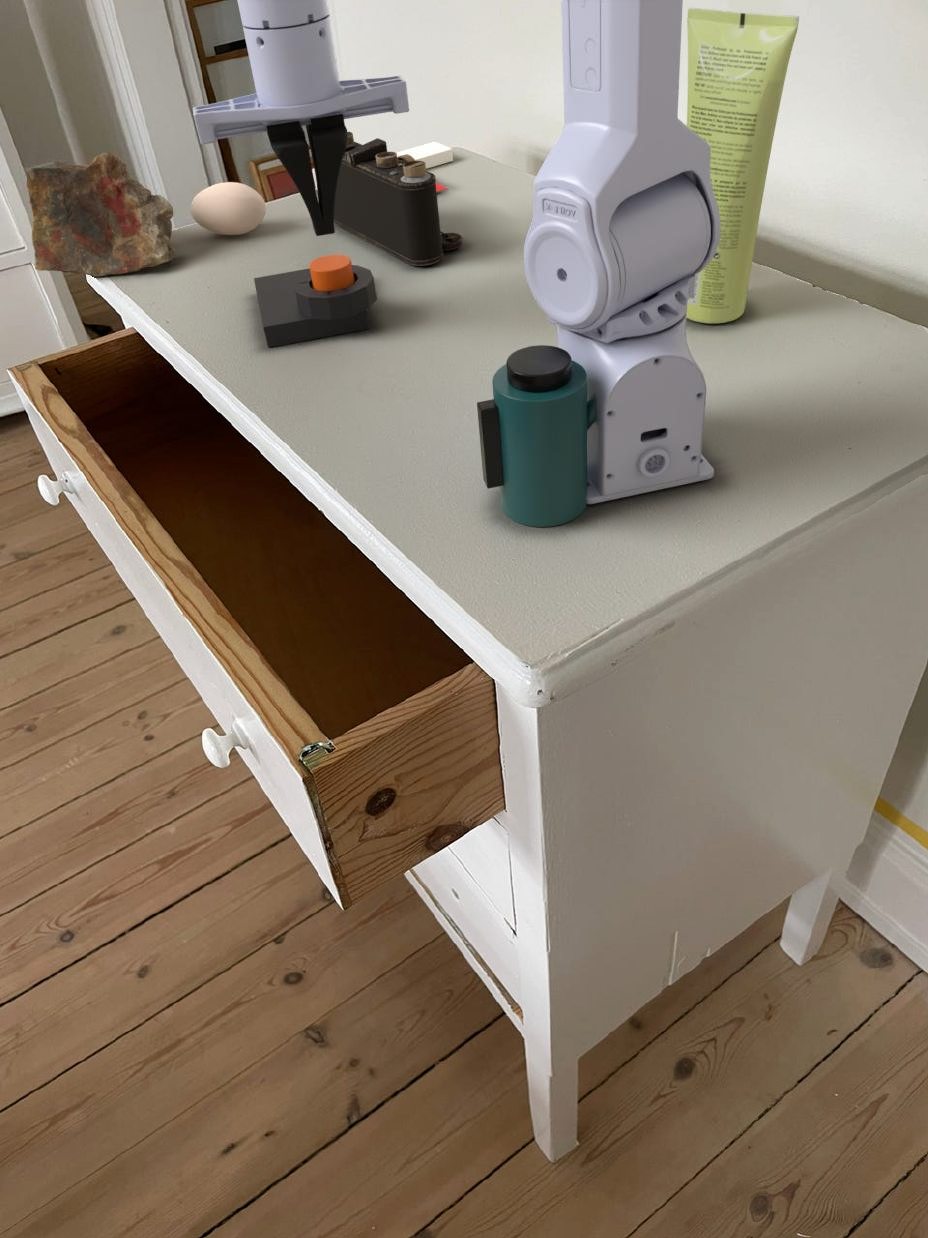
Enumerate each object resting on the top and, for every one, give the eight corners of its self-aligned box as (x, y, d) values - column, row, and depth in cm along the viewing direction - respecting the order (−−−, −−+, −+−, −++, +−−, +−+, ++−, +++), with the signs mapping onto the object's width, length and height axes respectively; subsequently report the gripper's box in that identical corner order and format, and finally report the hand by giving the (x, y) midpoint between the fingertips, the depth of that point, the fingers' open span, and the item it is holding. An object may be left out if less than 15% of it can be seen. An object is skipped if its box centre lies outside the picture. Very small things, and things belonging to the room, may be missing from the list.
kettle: (626, 510, 55) (631, 365, 49) (499, 538, 54) (487, 394, 48) (597, 465, 59) (598, 325, 53) (477, 490, 58) (464, 350, 52)
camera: (477, 248, 86) (470, 152, 80) (413, 270, 83) (401, 172, 78) (383, 203, 96) (371, 116, 91) (324, 222, 94) (308, 133, 89)
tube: (744, 293, 75) (777, -3, 62) (761, 322, 71) (800, 13, 58) (670, 300, 75) (687, 6, 62) (683, 329, 71) (705, 23, 58)
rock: (109, 179, 96) (38, 118, 86) (215, 193, 92) (152, 131, 82) (73, 298, 95) (-3, 250, 86) (178, 318, 91) (111, 270, 82)
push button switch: (385, 332, 75) (378, 288, 73) (269, 353, 74) (258, 309, 72) (363, 278, 83) (356, 237, 81) (258, 297, 82) (248, 256, 80)
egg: (274, 193, 94) (202, 197, 96) (256, 170, 90) (181, 175, 91) (273, 241, 94) (201, 244, 96) (254, 220, 90) (180, 225, 91)
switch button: (357, 288, 74) (353, 266, 73) (316, 296, 74) (311, 273, 72) (351, 273, 76) (347, 251, 75) (311, 280, 76) (306, 258, 75)
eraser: (396, 151, 105) (413, 160, 103) (434, 140, 107) (452, 148, 104) (397, 164, 106) (414, 172, 103) (435, 152, 108) (453, 160, 105)
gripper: (384, -7, 67) (408, 196, 76) (173, 24, 65) (224, 228, 74) (403, 11, 62) (427, 227, 71) (174, 45, 60) (228, 261, 69)
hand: (324, 230), depth 72 cm, fingers closed
